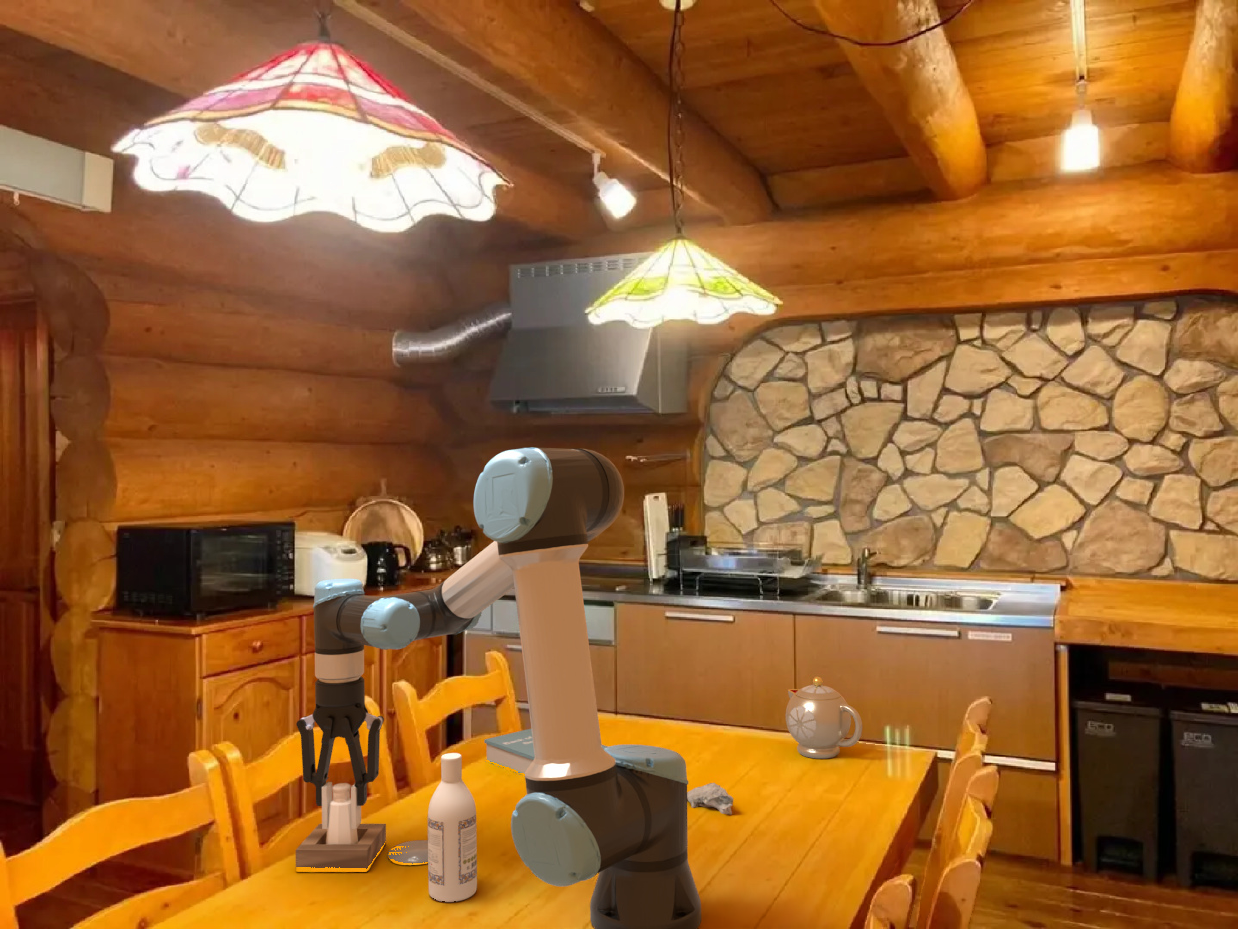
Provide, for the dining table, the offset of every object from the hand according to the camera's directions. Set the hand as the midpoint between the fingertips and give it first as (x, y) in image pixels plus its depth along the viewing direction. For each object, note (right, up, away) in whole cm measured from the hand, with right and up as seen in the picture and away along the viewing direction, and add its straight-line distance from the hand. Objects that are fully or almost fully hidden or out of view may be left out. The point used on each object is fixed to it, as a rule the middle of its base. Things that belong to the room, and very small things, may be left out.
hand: (341, 825), depth 156 cm
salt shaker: (0, -5, 0) cm, 5 cm away
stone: (+60, -5, +23) cm, 65 cm away
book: (+29, -6, +48) cm, 57 cm away
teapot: (+87, -5, +53) cm, 102 cm away
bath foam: (+20, -6, -12) cm, 24 cm away
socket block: (0, -5, +1) cm, 5 cm away
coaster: (+12, -5, +2) cm, 13 cm away
